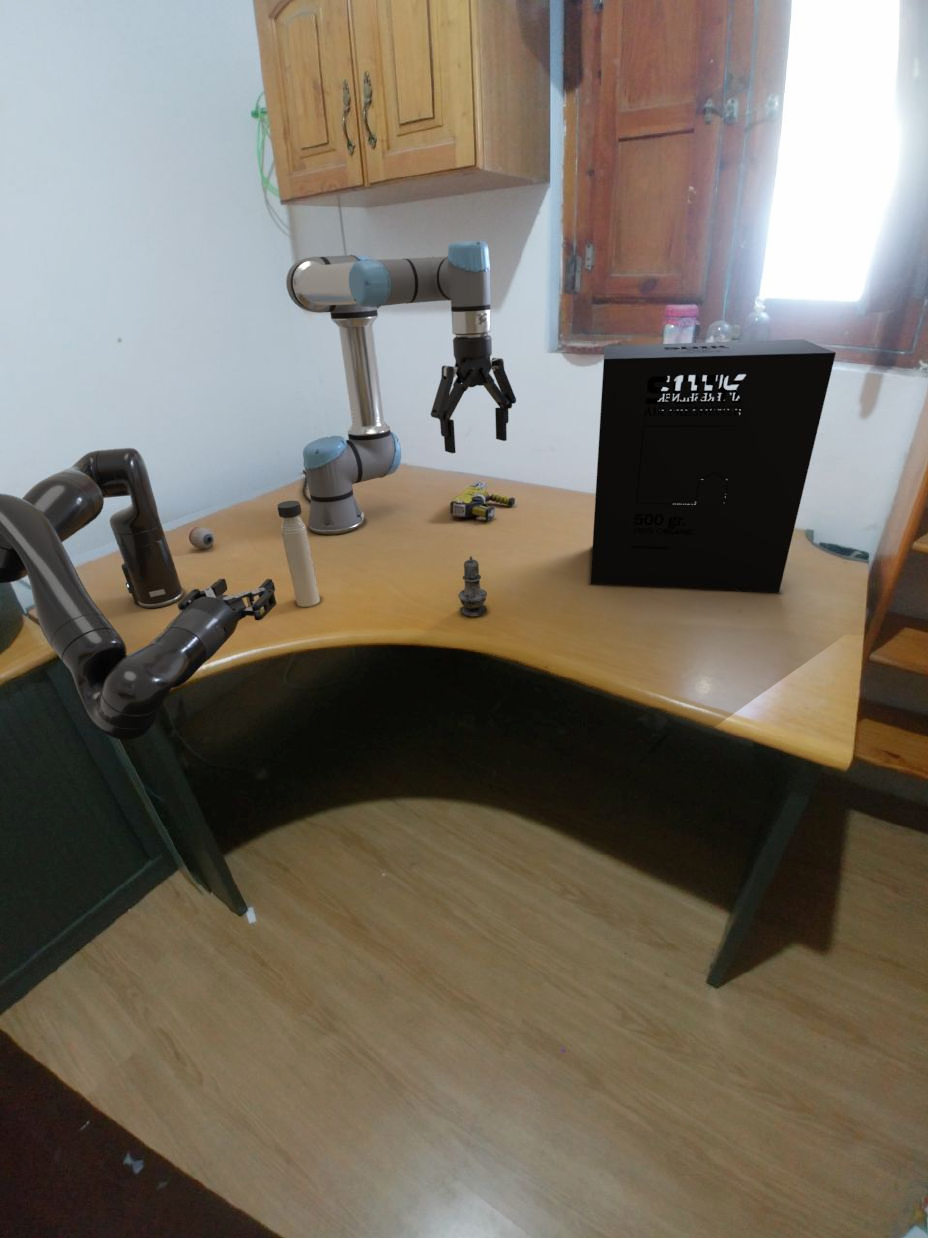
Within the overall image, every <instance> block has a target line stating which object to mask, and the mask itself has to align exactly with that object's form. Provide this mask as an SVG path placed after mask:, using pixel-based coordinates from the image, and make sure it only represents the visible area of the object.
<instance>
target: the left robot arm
mask: <svg viewBox="0 0 928 1238" xmlns="http://www.w3.org/2000/svg"><path fill="white" fill-rule="evenodd" d="M127 496H128V497H129V496H130V503H131V504H130V505H129V506H127V507H125V508H122V509H121V510H119V511H116V512H115V513H113V514H112V515H111V516H110V517H109V525H110V528H111V531H112V532H113V536H114V539H115V541H116V544H117V546H118V549H119V553H120V556H121V558H122V559H123V560H122V561H123V563H122V564H121V566H120V567H121V569H122V572H123V575H124V578H125V580H126V583H125V585H126V589H127V591H128V593H129V594H130V595H131V597H132V599H133V602H134V604H135V605H137V606H138V605H139V606H140V607H142V608H144V609H158V608H163V607H166V606H170V605H172V604H174V603H176V602H178V601H179V600H181V599H182V598H183V599H182V600H181V601H179V602H178V603H177V608H178V611H179V614H178V615H177V616H176V617H174V618H173V619H172V620H171V621H170V622H169V623H168V624H167V626H166V627H165V628H164V630H163V631H162V632H160V634H159V635H157V636H156V637H155V638H154V639H153V640H152V641H151V642H149V643H148V645H145V646H144V647H141V648H139V649H137V650H135V651H134V652H131V653H130V654H128V649H127V645H126V643H125V641H124V639H123V638H122V636H121V634H119V633H118V632H117V630H116V628H114V626H113V625H112V623H111V622H110V621H109V619H108V618H107V617H106V616H105V615H104V614H103V612H102V611H101V610H100V608H99V607H98V606H97V605H96V603H95V602H94V600H93V599H92V597H91V596H90V594H89V593H88V591H87V589H86V588H85V585H84V583H83V582H82V579H81V578H80V576H79V574H78V572H77V569H76V568H75V566H74V564H73V561H72V560H71V558H70V556H69V554H68V552H67V550H66V548H65V546H64V544H63V543H64V542H65V541H67V540H68V539H69V538H71V537H72V536H73V535H75V534H76V533H77V532H79V531H80V530H82V529H84V528H85V527H86V526H88V525H89V524H91V523H92V522H93V521H95V520H96V519H97V518H98V517H99V515H100V514H101V513H102V511H103V508H104V505H105V499H109V498H117V497H127ZM175 565H176V564H175V562H174V560H173V556H172V553H171V550H170V546H169V544H168V541H167V537H166V534H165V532H164V528H163V525H162V522H161V519H160V516H159V511H158V506H157V501H156V499H155V495H154V491H153V488H152V484H151V479H150V476H149V471H148V469H147V465H146V462H145V460H144V458H143V456H142V454H141V453H140V452H139V451H138V450H137V449H136V448H133V447H121V448H108V449H100V450H99V449H98V450H93V451H90V452H87V453H85V454H84V455H83V456H81V457H80V459H78V460H77V461H76V462H75V463H74V464H73V465H71V466H70V467H68V468H65V469H63V470H60V471H59V472H56V473H54V474H51V475H50V476H48V477H46V478H44V479H42V480H40V481H39V482H37V483H36V484H34V485H33V486H32V487H31V488H30V489H29V490H28V491H27V492H26V493H25V494H24V496H23V497H22V498H21V497H18V496H16V495H13V494H9V493H8V494H7V493H0V584H8V583H9V584H10V583H13V582H17V581H19V580H22V579H24V578H26V577H28V581H29V585H30V589H31V593H32V594H31V595H32V599H33V603H34V609H35V613H36V617H37V622H38V625H39V627H40V630H41V632H42V633H43V636H44V638H45V639H46V641H47V642H48V644H49V645H50V647H51V648H52V649H53V650H54V652H55V654H56V655H57V657H58V658H59V659H60V660H61V662H62V663H63V664H64V666H65V667H66V668H67V669H68V670H69V672H70V673H71V675H72V678H73V681H74V685H75V687H76V690H77V692H78V695H79V697H80V699H81V702H82V705H83V706H84V708H85V710H86V713H87V715H88V716H89V719H90V720H91V721H92V723H93V724H94V725H95V726H96V727H97V728H98V729H99V730H100V731H101V732H102V733H104V734H105V735H107V736H109V737H111V738H114V739H116V740H121V741H122V740H123V741H130V740H136V739H138V738H140V737H142V736H144V735H145V734H146V733H148V731H149V730H150V729H151V728H152V727H153V725H154V724H155V722H156V719H157V717H158V715H159V712H160V710H161V707H162V705H163V703H164V702H165V699H166V697H167V696H168V694H169V693H170V691H171V690H172V689H175V688H177V687H180V686H182V685H184V684H186V682H188V680H190V678H192V676H193V675H194V674H196V673H197V671H199V669H200V668H201V667H202V666H203V665H204V664H205V663H206V662H208V661H209V660H210V659H211V658H212V657H214V655H215V654H216V653H217V652H218V651H219V650H220V649H221V648H222V647H223V645H225V643H226V642H227V641H228V640H229V639H230V638H231V636H232V635H233V634H234V633H235V632H236V629H237V626H238V623H239V622H240V621H241V620H243V619H244V618H246V617H247V616H248V617H249V616H250V617H254V620H255V621H257V622H258V621H261V620H263V619H264V618H265V617H266V616H267V615H268V614H269V613H270V612H271V611H272V610H273V609H274V608H275V607H276V606H277V605H278V602H277V600H276V595H275V591H276V587H275V583H274V581H273V579H271V578H266V579H265V580H264V581H263V582H262V583H261V584H260V585H259V587H258V588H257V589H253V590H252V591H250V590H248V589H247V590H243V591H241V592H239V593H235V594H228V595H227V594H225V593H226V592H227V591H228V584H227V581H226V578H219V579H218V580H217V581H215V582H213V584H211V585H210V586H208V587H205V588H203V590H200V589H199V588H194V589H192V590H190V591H189V593H187V595H186V596H185V597H184V594H185V591H184V588H183V586H182V584H181V581H180V578H179V574H178V571H177V568H176V566H175ZM257 596H258V598H257V599H256V600H255V597H257ZM245 598H246V601H247V606H246V604H245V601H244V600H243V599H245Z"/></svg>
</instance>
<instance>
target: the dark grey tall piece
mask: <svg viewBox="0 0 928 1238" xmlns="http://www.w3.org/2000/svg"><path fill="white" fill-rule="evenodd" d="M463 572H464V574H463V576H462V579H463V583H464V588H463V589H462V590H461V591H459V592H458V594H457V596H458V597H457V598H458V599H459V601H460V603H461V605H462V606H461V608H460V613H461V615H463V616H466V617H479V616H482V615H484V614H486V612H487V607H486V606H485V605H484V604H485V602H486V601H487V597H488V591H486V590H485V589H483V588H481V581H480V580H482V575H480V567H479V562H478V561H477V560H475V559H473V556H472V555H469V557H468V559H467V560H465V561H464V563H463Z"/></svg>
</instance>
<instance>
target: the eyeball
mask: <svg viewBox="0 0 928 1238" xmlns="http://www.w3.org/2000/svg"><path fill="white" fill-rule="evenodd" d="M188 539H189V542H190V544H191V545H192V546H193V547H194V548H196V549H198V550H206V549H208V548H210V547H212V545H213V544H214V541H215V535H214V533H213V531H212V529H210V528H209V527H207V526H205V525H198V526H195V527H194V528H192V529H191V530H190V532H189V535H188Z"/></svg>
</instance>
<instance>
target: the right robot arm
mask: <svg viewBox="0 0 928 1238" xmlns="http://www.w3.org/2000/svg"><path fill="white" fill-rule="evenodd" d="M490 263H491V262H490V252H489V245H488V244H487V242H485V241H484V240H466V241H455V242H451V243H450V244H449V245H448V247H447V256H431V257H430V256H427V257H413V258H411V257H410V258H391V259H390V258H386V259H374V258H370V257H369V256H367V255H358V254H349V255H328V256H326V255H325V256H310V257H305V258H302V259H300V260H298V261H296V262H295V263H293V265H291V267H290V268H289V269H288V272H287V275H286V281H285V282H286V283H285V284H286V285H285V286H286V290H287V293H288V296H289V297H290V299H291V300H292V303H294V304H295V305H296V306H298V307H299V308H300V309H302V310H304V311H306V312H310V313H318V314H319V313H320V314H321V313H330V320H331V321H332V322H333V323H334V324H335V325H336V326H337V327H338V332H339V333H338V334H339V339H340V347H341V355H342V361H343V369H344V375H345V382H346V383H345V384H346V389H347V396H348V404H349V410H350V418H351V425H350V426H349V428H348V430H347V436H348V439H345V437H343V436H341V435H332V436H324V437H321V438H318V439H315V440H312V441H311V442H309V443H308V444H306V445H305V446H304V448H303V450H302V457H303V459H302V460H303V467H304V469H302V473H303V474H304V476H305V478H304V482H303V486H302V495H303V497H304V498H305V500H306V501H308V502H309V503H310V507H309V513H308V528H309V529H308V530H310V531H311V532H312V533H314V534H317V535H323V536H324V535H325V536H327V535H329V536H331V535H339V534H340V535H341V534H345V533H350V532H353V531H355V530H357V529H359V528H361V527H362V526H363V525H364V523H365V519H364V518H365V513H364V512H363V511H362V510H361V508H360V505H359V504H358V501H357V500H356V498H355V495H354V489H353V485H354V484H355V485H356V484H359V483H363V482H368V481H371V480H375V479H381V478H385V477H387V476H390V475H392V474H394V473H396V472H397V470H398V469H399V467H400V465H401V462H402V446H401V443H400V441H399V437H398V436H397V435H396V434H395V432H394V431H391V426H390V425H388V423H386V422H385V420H384V419H385V418H384V410H383V402H382V393H381V385H380V377H379V368H378V367H379V366H378V358H377V349H376V341H375V331H374V324H375V322H376V320H377V319H378V317H379V314H378V309H379V308H381V307H385V306H394V305H403V304H405V305H406V304H417V303H419V304H420V303H427V302H428V303H429V302H444V301H448V302H449V301H450V311H451V313H450V314H451V315H450V316H451V334H453V335H454V337H453V339H452V350H453V358H454V359H455V363H454V366H452V365H442V366H441V373H440V374H441V375H440V376H441V377H440V381H439V384H438V388H437V390H436V395H435V398H434V401H433V404H432V407H431V411H430V416H431V418H435V419H438V421H439V426H440V435H441V437H443V441H444V442H443V443H444V452H446V453H450V454H456V433H455V420H454V419H451V418H452V416H453V414H454V413H455V410H456V409H457V406H458V404H459V402H460V401H461V399H462V397H463V396H464V393H465V392H466V391H468V389H469V388H474V387H477V386H478V387H482V386H483V387H484V389H485V390H486V391H487V392H488V394H489V396H491V398H492V399H493V401H494V402H495V403H496V405H497V406H498V407H495V408H494V410H495V411H494V413H495V414H494V415H495V439H496V440H499V441H502V442H507V441H508V438H507V435H508V433H507V424H509V410H510V409H512V407H513V404H516V403H517V398H516V394H515V393H514V390H513V388H512V385H511V383H510V380H509V378H508V375H507V373H506V370H505V363H504V362H505V361H504V359H503V358H499V357H493V358H491V356H492V354H493V346H492V344H493V343H492V340H493V339H492V336H491V335H489V333H491V332H492V315H491V314H492V312H491V311H492V309H491V264H490ZM491 370H492V374H493V376H494V378H493V376H492V375H491ZM455 377H456V378H455ZM454 378H455V380H454ZM495 381H496V383H497V384H496V383H495ZM307 486H308V492H309V497H308V495H307V494H306V493H307V492H306V487H307Z"/></svg>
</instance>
